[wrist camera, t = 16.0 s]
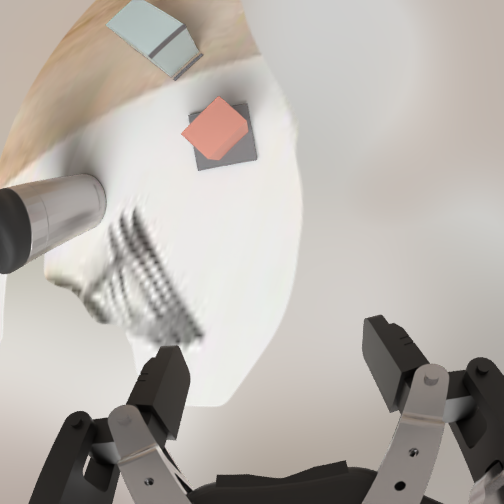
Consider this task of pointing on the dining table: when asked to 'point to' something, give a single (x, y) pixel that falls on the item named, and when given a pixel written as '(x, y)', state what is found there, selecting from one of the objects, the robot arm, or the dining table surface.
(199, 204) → the dining table surface
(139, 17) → the pale green block
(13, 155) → the dining table surface
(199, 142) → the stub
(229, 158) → the coaster
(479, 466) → the robot arm
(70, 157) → the dining table surface
